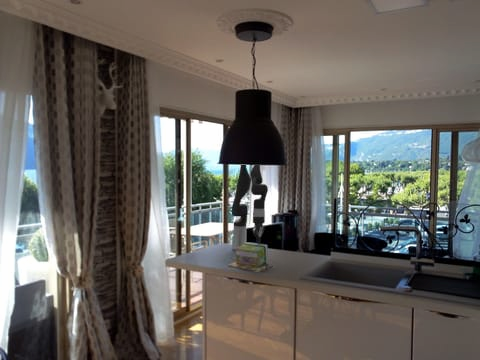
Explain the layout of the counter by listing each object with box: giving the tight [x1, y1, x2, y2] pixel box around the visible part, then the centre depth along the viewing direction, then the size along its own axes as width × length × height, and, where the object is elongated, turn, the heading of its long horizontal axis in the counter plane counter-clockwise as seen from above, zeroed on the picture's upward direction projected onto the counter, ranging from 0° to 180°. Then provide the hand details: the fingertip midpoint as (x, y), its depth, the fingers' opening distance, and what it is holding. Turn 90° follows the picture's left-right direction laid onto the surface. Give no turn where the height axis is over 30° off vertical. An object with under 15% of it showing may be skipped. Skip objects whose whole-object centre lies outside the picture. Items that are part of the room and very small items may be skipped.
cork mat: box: [227, 261, 268, 272], centre depth 243 cm, size 18×16×2 cm
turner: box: [254, 264, 273, 273], centre depth 236 cm, size 16×4×1 cm, turn 149°
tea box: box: [235, 241, 269, 267], centre depth 246 cm, size 15×10×15 cm
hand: (258, 242), depth 254 cm, fingers closed
